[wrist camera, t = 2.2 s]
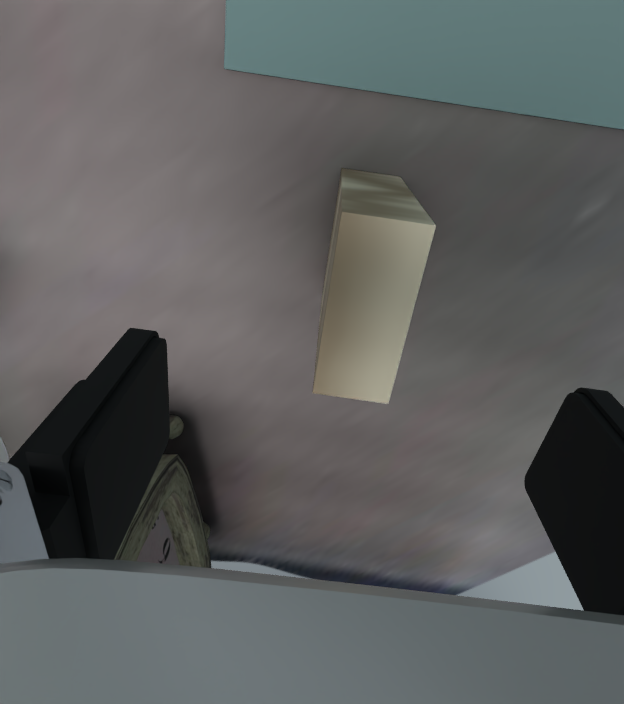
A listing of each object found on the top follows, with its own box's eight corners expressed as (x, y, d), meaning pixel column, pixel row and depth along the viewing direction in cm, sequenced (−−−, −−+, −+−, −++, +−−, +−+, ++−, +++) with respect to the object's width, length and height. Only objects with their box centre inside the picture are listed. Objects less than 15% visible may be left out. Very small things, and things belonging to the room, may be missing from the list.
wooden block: (400, 176, 23) (436, 225, 14) (372, 302, 26) (388, 404, 18) (341, 167, 23) (341, 211, 14) (322, 295, 26) (312, 393, 18)
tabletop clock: (227, 538, 37) (69, 1148, 16) (123, 537, 38) (-167, 1118, 16) (195, 395, 30) (-176, 1145, 9) (67, 397, 31) (-570, 1093, 9)
